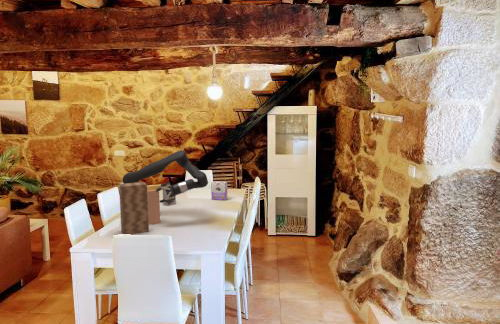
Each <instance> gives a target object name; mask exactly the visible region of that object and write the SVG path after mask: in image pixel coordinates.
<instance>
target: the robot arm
mask: <svg viewBox="0 0 500 324" xmlns="http://www.w3.org/2000/svg"><path fill="white" fill-rule="evenodd" d="M173 162H176V164H177V165H178V166H180V167H181V168H182V169H184V170H186V172H187V173H188V174H190V176H191V177H192V178H193V179H192V178H189V179H187V180H185V181H180V182H177V183H175V184H171V183H170V182H169V181H167V182H163V183H161V187H160V188H157V189H156V192H157V191H159V192H160V191H163V190H165V191H166V193H167V197H166V199H163V198H162V199H159V202H160V204H163V202H167V203H170V202H173V201H175V198H174V196H175V195H176V196H177V195H181V194H184V193H186V192H188V191H191V190H193V189H200V188H201V189H202V188H205V187H207V186H208V184H209V181H208V176H207V174H206V173H205V172H204V171H201V170H200V169H199V168H198V167H197V166H196V165H194V164H192V163H191V161H190V160H189V157H188V155H187V153H186V151H185V150H177V151H175V152H173V153H171V154H169V155H168V156H166V157H163V158H161V159H159V160H156V161H153V162H151V163H149V164H147V165H145V166H144V167H142V168H140V169H138V170H136V171H130V172H129V171H128V172H126V173H125V174H124V175H123V177H122V178H121V179H122V184H126V183H137V182H141V180H144V179H148V178H150V177H153V176H156V175H158V174H161V173H163V172H164V171H165V169H166V168H167V167H168V166H169V165H170V164H171V163H173ZM195 180H197V181H195ZM170 185H172V186H170ZM164 186H168V188H166V187H164ZM170 197H173V198H172V199H170V200H168V199H169V198H170Z"/></svg>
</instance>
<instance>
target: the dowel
mask: <svg viewBox="0 0 500 324" xmlns="http://www.w3.org/2000/svg"><path fill="white" fill-rule="evenodd" d="M161 184H162V183H161ZM161 184H152V185H151V184H149V185H148V184H147V191H149V190H156V189H157V188H160V187H161ZM164 187H166V188H168V186H164Z"/></svg>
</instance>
